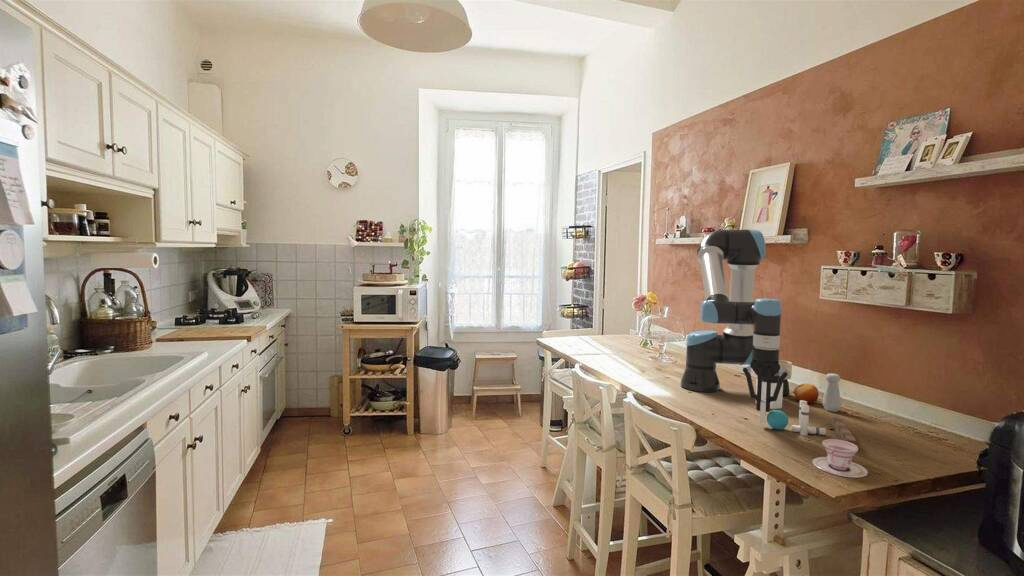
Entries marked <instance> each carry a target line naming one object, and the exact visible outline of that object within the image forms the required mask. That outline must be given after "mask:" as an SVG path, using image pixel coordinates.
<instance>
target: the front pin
mask: <svg viewBox="0 0 1024 576" xmlns="http://www.w3.org/2000/svg"><path fill="white" fill-rule="evenodd" d="M800 428H801V426H799V424H798V425H796V424H791V429H790V430H791V432H792V433H793V432H796V433H800ZM808 434H813V435H818V436H819V435H820V436H821V435H822V436H827V428H825V427H817V426H815V427H814V426H808Z"/></svg>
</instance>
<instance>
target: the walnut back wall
mask: <svg viewBox="0 0 1024 576" xmlns="http://www.w3.org/2000/svg"><path fill="white" fill-rule="evenodd" d="M831 426H832V428H833V429H834V430H835V432H836V434H837V435H838V437H839V440H843V441H847V442H850V443H853V444H855V445H856V446H857V447H858V441H857V439H856V438H855V436H854V434H852V432H851V431H850V429H849V428H848V426H847V425H846V423H845V422H844V420H843V419H842V417H841V416H839V415H831Z"/></svg>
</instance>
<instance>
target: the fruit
mask: <svg viewBox="0 0 1024 576" xmlns="http://www.w3.org/2000/svg"><path fill="white" fill-rule="evenodd" d="M793 393H794V396H795V398H796V399H797V400H798V401H799V402H800V400H803V401H807V405H809V404H817V402H818V399H819V396H820V395H819V389H818V387H817V386H815V384H812V383H802V384H799V385H797V386H796V387H795V388H794V390H793Z"/></svg>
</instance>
